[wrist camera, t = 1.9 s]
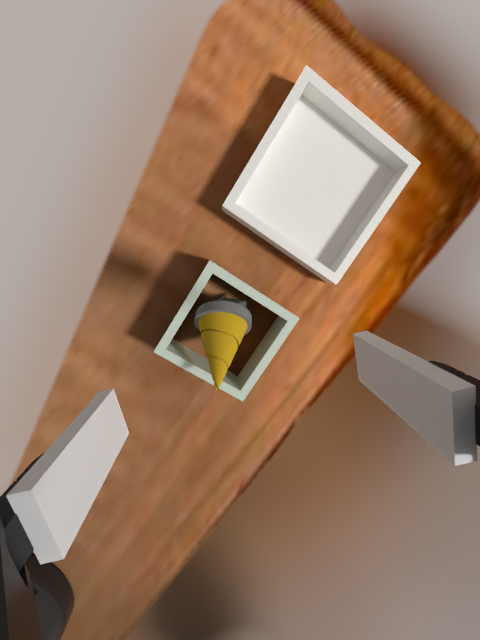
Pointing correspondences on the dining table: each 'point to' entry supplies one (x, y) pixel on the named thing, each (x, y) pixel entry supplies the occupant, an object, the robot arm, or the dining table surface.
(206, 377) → the pale green square frame
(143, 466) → the dining table surface
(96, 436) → the robot arm
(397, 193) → the tray
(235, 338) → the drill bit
